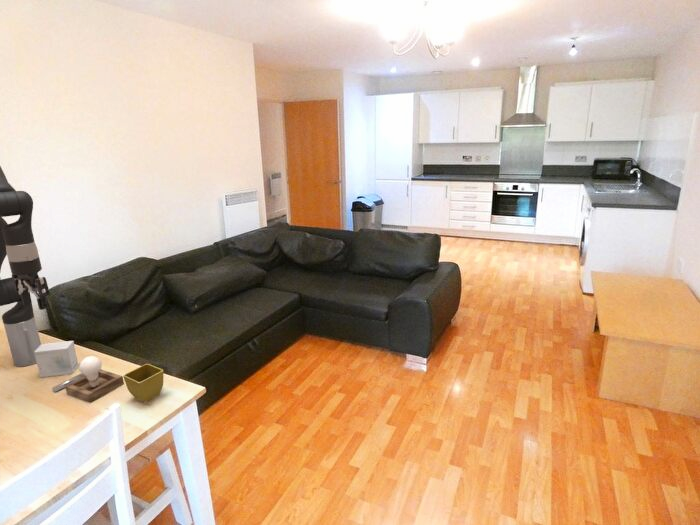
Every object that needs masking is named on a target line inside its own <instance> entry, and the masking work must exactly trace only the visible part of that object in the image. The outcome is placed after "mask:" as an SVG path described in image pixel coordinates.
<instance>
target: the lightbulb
mask: <svg viewBox="0 0 700 525" xmlns="http://www.w3.org/2000/svg"><path fill="white" fill-rule="evenodd" d="M78 364H79V366H78V370H79V372H80V374H81V373H82V374H83V375H85V376H86V377H87V379H88V380H89V385H90V387H96V386H98V385H99V382H98V374H99V371H100V369H102V361H101V359H100V358H99V357H98V356H95V355H88V356H85V357H84V358H82V360H81V361H80V363H78Z"/></svg>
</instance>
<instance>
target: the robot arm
mask: <svg viewBox="0 0 700 525" xmlns="http://www.w3.org/2000/svg"><path fill="white" fill-rule="evenodd" d="M33 210H34V201H33V197H32V196H31V195H30V194H29V193H28V192H27V191H25V190H16V189H15V188H14V187H13V186H12V184H10V183H9V182H8V179H7V177H6V174H5V173H4V170H3V169H2V167H1V165H0V272H1V271H2V270H1V269H2V265H3V263H4V261H5V259H6V257H7V260H8V265H9V268H10V272H11V276H10V277H7V278H3V279H2V278H0V307H3V306H7V305H12V304H15V303H16V304H15V305H14V306H13V307H11V308H10V309H8V310H7V311H6V312H4V313H3V314H2V316H1V320H2V324H3V327H4V331H5V335H6V337H7V342H8V345H9V346H8V347H9V349H10V354H11V357H12V361H13V364H14V366H15V367H18V368H19V367H21V368H22V367H27V366H32V365H35V364H37V361H36V358H35V354H34V351H35V350H36V349H37V348H38V347H39V346H40V345H41V344H42V341H41V339H40V338H41V337H40V335H39V330H38V325H37V322H36V318H35V317H36V316H35V314H34V308H33V302H32V296H31V294H34V296H35V297H36V302H37V306H38V309H39V310H40V311H43V310H45V309H49V308H48V307H49V306H48V301H47V298H46V297H48V296H50V295H51V294H50V288H49V285H48V281H47V278H46V277H45V276H42V277H40V276H39V274H38V273H40V272H41V271H42V269H43V268H42V264H41V263H42V262H41V259H40V255H39V250H38V247H37V244H36V242H35V237H34V233H33V228H32V219H33V218H32V217H33ZM14 216H19V217H18V219H17V220H16V221H14V222H11V223H8V222H7V221H6V220H5V219H4V218H5V217H6V218H7V217H14Z"/></svg>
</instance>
